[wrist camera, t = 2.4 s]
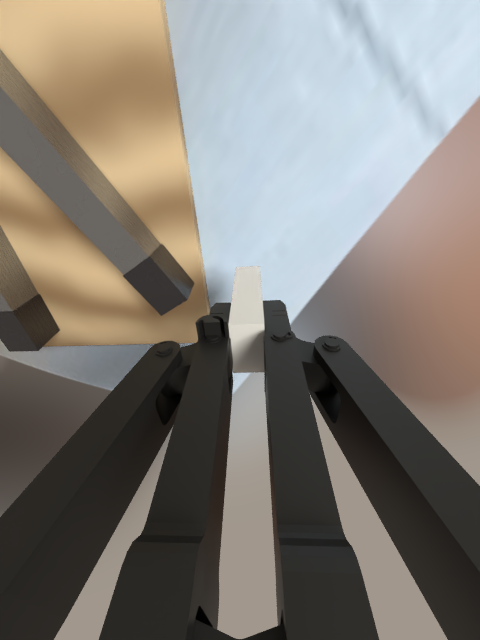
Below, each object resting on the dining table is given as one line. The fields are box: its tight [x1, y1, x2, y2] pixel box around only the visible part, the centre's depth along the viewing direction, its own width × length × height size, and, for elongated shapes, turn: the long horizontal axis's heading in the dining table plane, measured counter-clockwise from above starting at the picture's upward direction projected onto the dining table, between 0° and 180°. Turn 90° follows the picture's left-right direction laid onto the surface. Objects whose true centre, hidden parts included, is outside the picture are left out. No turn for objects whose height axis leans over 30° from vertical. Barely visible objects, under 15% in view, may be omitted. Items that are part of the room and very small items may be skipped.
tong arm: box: [0, 49, 195, 316], centre depth 16 cm, size 18×3×3 cm, turn 34°
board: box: [0, 0, 210, 347], centre depth 19 cm, size 25×20×1 cm
